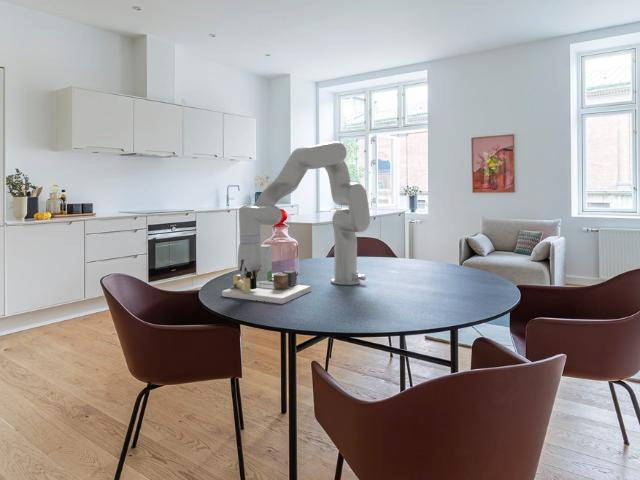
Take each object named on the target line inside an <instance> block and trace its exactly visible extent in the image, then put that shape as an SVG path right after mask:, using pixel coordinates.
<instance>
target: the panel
mask: <svg viewBox="0 0 640 480" xmlns="http://www.w3.org/2000/svg"><path fill="white" fill-rule="evenodd" d="M256 286H257V288H256V289H250V292H249V293H244V292H243V291H242V290H240V289H239V288H237V287H234V285H231V286H229V288H227V289H224V290H221V295H222V297H226V298H234V299H241V300H249V301H250V300H251V301H256V300H257V301H256V302H264V301H265V303H273V304H281V305H282V304H286V303H287V302H290V301H291V300H294V299H297V298H299V297H301V296H303V295H305V294H307V293H310V292H312V286H311V285H304V284H303V285H301V284H297V283H296V284H294V285H292V286H290V285H288V287H286V288H284V289H279V288H274V281H257V280H256Z"/></svg>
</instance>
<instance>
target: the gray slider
mask: <svg viewBox="0 0 640 480" xmlns="http://www.w3.org/2000/svg"><path fill="white" fill-rule="evenodd" d="M281 273H283V274H288V285H290V286H292V285H294V284H297V271H296V270H284V271H282V272H281Z"/></svg>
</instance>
